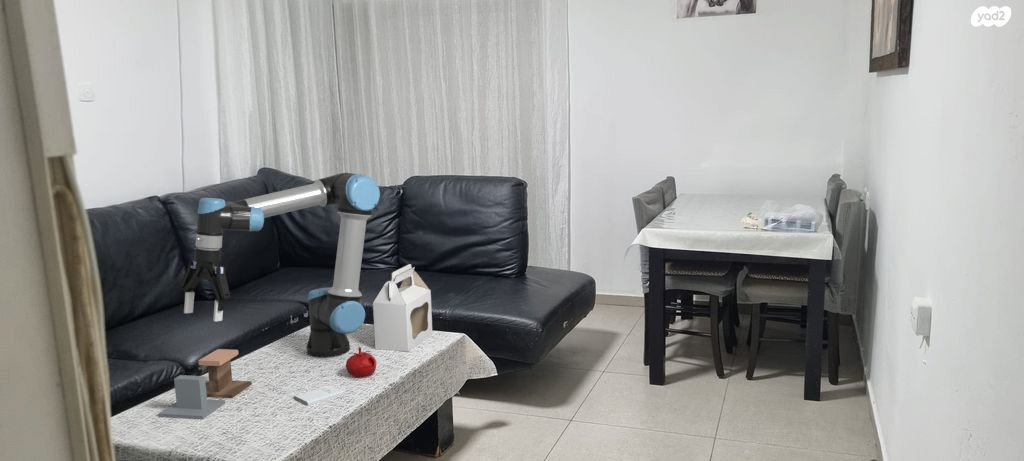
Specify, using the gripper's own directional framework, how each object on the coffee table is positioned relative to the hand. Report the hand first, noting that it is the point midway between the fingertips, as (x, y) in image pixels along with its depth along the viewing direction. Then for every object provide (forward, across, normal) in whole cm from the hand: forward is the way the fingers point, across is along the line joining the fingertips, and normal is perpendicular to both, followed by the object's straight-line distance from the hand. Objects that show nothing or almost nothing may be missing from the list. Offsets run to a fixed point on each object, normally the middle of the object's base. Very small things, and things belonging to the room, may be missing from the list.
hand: (202, 316), depth 244 cm
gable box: (+12, +24, +71) cm, 76 cm away
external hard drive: (+20, +35, +16) cm, 44 cm away
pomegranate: (+17, +34, +37) cm, 53 cm away
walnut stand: (+23, +4, +6) cm, 24 cm away
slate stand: (+25, +10, -9) cm, 28 cm away
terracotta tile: (+13, +3, +5) cm, 15 cm away
